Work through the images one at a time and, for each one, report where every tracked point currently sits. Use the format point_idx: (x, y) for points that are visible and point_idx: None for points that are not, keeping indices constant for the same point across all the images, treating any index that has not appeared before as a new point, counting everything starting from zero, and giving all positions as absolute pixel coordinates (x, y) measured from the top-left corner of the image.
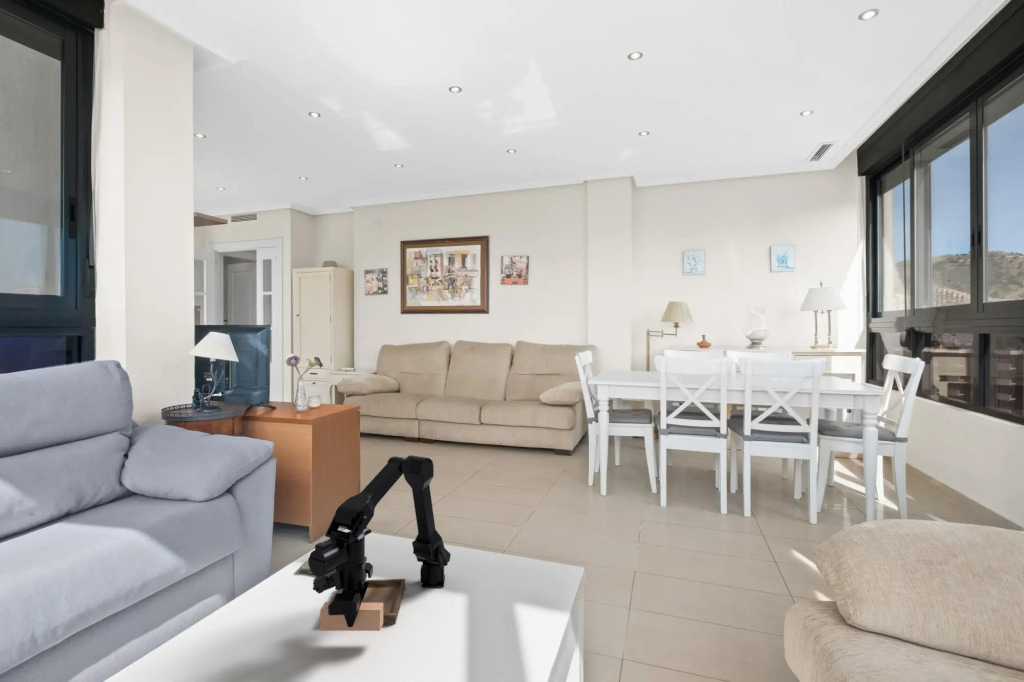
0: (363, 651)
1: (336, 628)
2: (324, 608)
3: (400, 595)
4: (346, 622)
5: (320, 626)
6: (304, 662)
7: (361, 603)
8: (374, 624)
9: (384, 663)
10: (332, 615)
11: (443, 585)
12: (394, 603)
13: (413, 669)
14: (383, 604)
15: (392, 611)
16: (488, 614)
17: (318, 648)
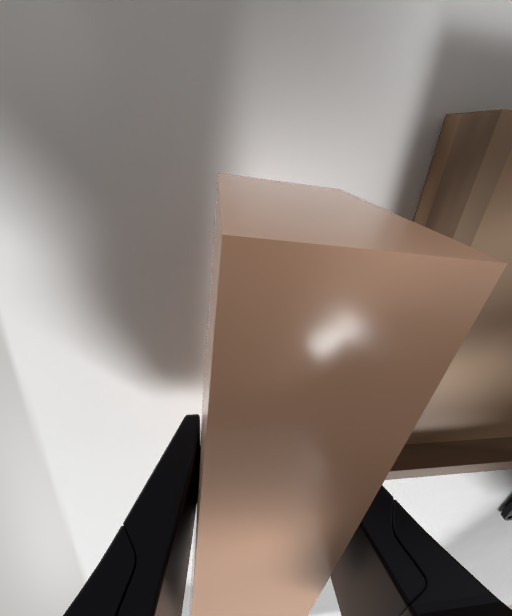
0: (178, 384)
1: (208, 322)
2: (258, 316)
3: (498, 469)
4: (167, 448)
5: (220, 179)
6: (49, 76)
7: (300, 603)
8: (194, 529)
9: (105, 459)
10: (207, 373)
11: (504, 519)
12: (474, 432)
13: (87, 523)
14: (490, 400)
15: (419, 437)
16: (322, 590)
17: (210, 147)
